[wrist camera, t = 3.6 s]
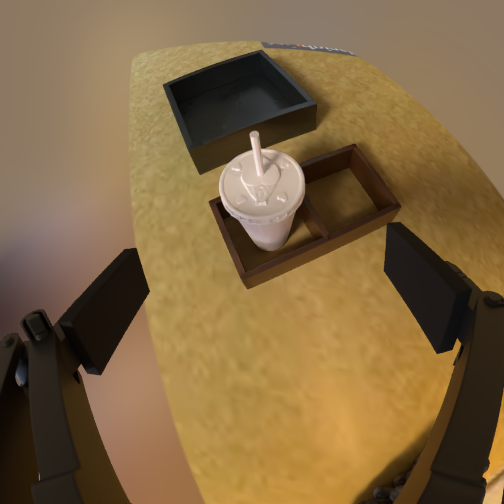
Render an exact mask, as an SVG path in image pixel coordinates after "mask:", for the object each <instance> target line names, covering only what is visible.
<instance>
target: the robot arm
mask: <svg viewBox="0 0 504 504" xmlns="http://www.w3.org/2000/svg"><path fill="white" fill-rule="evenodd" d="M384 272H385V273H386V275H387V276H388V278H389V279H390V281H391V282H392V284H393V285H394V286H395V288H396V289H397V291H398V292H399V294H400V295H401V297H402V298H403V300H404V301H405V303H406V304H407V306H408V308H409V309H410V311H411V312H412V314H413V315H414V317H415V318H416V320H417V322H418V323H419V325H420V327H421V328H422V330H423V331H424V333H425V335H426V336H427V338H428V340H429V341H430V343H431V345H432V346H433V348H434V350H435V352H436V353H437V354H439V353H443V352H447V351H450V350H453V347H454V345H455V342H456V339H457V338H458V339H459V341H460V342H461V347H460V349H459V352H458V354H457V357H456V359H455V361H454V363H453V365H455V367H454V370H453V374H452V377H451V380H450V383H449V386H448V389H447V392H446V395H445V398H444V401H443V404H442V406H441V409H440V412H439V414H438V417H437V419H436V422H435V424H434V427H433V429H432V431H431V434H430V436H429V438H428V441H427V443H426V445H425V447H424V449H423V451H422V453H421V455H420V457H419V459H418V461H417V463H416V465H415V467H414V469H413V471H412V473H411V475H410V476H409V478H408V480H407V482H406V483H405V485H404V487H403V489H402V490H401V492H400V494H399V495H398V497H397V498H396V500H395V501H394V503H393V504H482V503H483V500H484V496H485V493H486V491H485V486H483V485H482V484H481V480H482V476H483V473H484V470H485V467H486V464H487V461H488V458H489V454H490V451H491V447H492V443H493V439H494V435H495V431H496V427H497V422H498V417H499V412H500V407H501V401H502V395H503V387H504V298H503V297H502V296H501V295H499V294H498V293H495V292H492V291H482V290H481V289H480V288H479V287H478V286H477V285H476V284H475V283H474V282H473V281H472V280H471V279H470V278H467V276H466V275H465V274H464V273H462V271H461V270H460V269H459V268H458V267H457V266H456V265H454V264H452V263H450V262H448V261H444V260H443V259H441V258H440V257H439V256H438V255H437V254H436V253H435V252H434V251H433V250H432V249H431V248H429V247H428V246H427V245H426V244H425V243H424V242H423V241H422V240H420V239H419V238H418V237H417V236H416V235H415V234H414V233H412V232H411V231H410V230H409V229H408V228H407V227H405V226H404V225H403V224H402V223H401V222H393V223H387V234H386V250H385V262H384ZM149 292H150V290H149V287H148V284H147V281H146V278H145V275H144V271H143V268H142V265H141V262H140V258H139V255H138V251H137V248H131V249H124V250H123V252H122V253H120V254H119V255H118V257H116V258H115V259H114V260H113V262H112V263H111V264H110V265H109V266H108V267H107V268H106V269H105V270H104V271H103V272H102V273H101V274H100V275H99V276H98V277H97V278H96V279H95V280H94V281H93V283H92V284H91V285H90V286H89V287H88V288H87V289H86V290H85V291H84V292H83V294H82V295H81V296H80V297H79V298H78V299H76V300H75V301H74V303H73V304H72V305H71V307H69V308H68V309H67V311H66V312H65V313H64V314H63V315H62V317H61V318H60V319H59V320H58V321H57V322H56V323H55V325H54V326H52V324H51V323H50V320H49V319H48V317H47V315H46V313H45V311H44V310H42V309H38V310H35V311H32V312H31V313H29V314H27V315H26V316H25V317H24V318H23V319H22V320H21V323H20V325H21V327H22V328H23V330H24V332H25V334H26V336H27V337H28V339H29V341H24V342H22V340H21V338H20V336H19V335H18V333H11V334H8V335H6V336H4V337H3V339H2V340H1V341H0V504H131V503H130V501H129V499H128V498H127V496H126V494H125V492H124V490H123V488H122V486H121V484H120V482H119V480H118V477H117V476H116V473H115V471H114V469H113V466H112V464H111V462H110V459H109V457H108V455H107V452H106V450H105V447H104V445H103V442H102V440H101V437H100V434H99V431H98V429H97V426H96V423H95V420H94V417H93V414H92V411H91V408H90V405H89V401H88V398H87V395H86V391H85V388H84V384H83V380H82V376H81V374H80V372H79V371H78V367H79V366H80V364H82V366H83V367H84V369H85V371H86V372H87V373H88V374H94V375H101V374H102V372H103V371H104V369H105V367H106V365H107V363H108V362H109V360H110V358H111V356H112V354H113V353H114V351H115V349H116V347H117V346H118V344H119V342H120V340H121V339H122V337H123V335H124V334H125V332H126V330H127V329H128V327H129V325H130V323H131V322H132V320H133V318H134V317H135V315H136V313H137V312H138V310H139V309H140V307H141V305H142V304H143V302H144V300H145V299H146V297H147V296H148V294H149ZM15 375H16V376H17V378H18V379H19V380H20V382H21V385H20V386H19V385H18V384H17V382H16V379H15ZM39 473H40V481H39ZM501 504H504V489H503V497H502V503H501Z"/></svg>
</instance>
